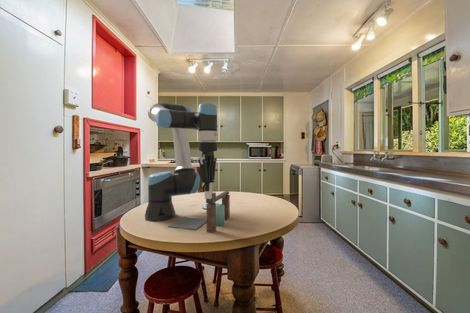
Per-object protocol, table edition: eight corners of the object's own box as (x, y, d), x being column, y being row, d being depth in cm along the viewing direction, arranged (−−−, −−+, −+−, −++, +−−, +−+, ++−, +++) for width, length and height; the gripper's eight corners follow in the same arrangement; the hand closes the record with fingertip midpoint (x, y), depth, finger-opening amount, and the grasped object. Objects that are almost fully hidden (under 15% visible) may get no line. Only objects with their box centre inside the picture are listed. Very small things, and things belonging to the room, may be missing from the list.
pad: (168, 226, 101) (168, 225, 101) (184, 217, 114) (184, 216, 114) (195, 230, 96) (195, 229, 96) (209, 220, 110) (209, 219, 110)
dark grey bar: (206, 203, 93) (206, 193, 93) (224, 193, 115) (224, 185, 115) (212, 204, 93) (212, 194, 92) (230, 193, 114) (230, 185, 114)
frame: (206, 232, 94) (206, 204, 94) (224, 217, 114) (224, 194, 114) (213, 232, 93) (213, 204, 93) (229, 217, 113) (229, 194, 113)
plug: (212, 225, 102) (212, 206, 102) (216, 222, 107) (216, 203, 107) (222, 226, 101) (222, 207, 100) (226, 223, 105) (225, 204, 105)
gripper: (209, 141, 84) (210, 202, 85) (222, 142, 96) (222, 195, 97) (192, 141, 86) (192, 201, 87) (206, 142, 99) (207, 194, 100)
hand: (208, 198), depth 92 cm, fingers closed
